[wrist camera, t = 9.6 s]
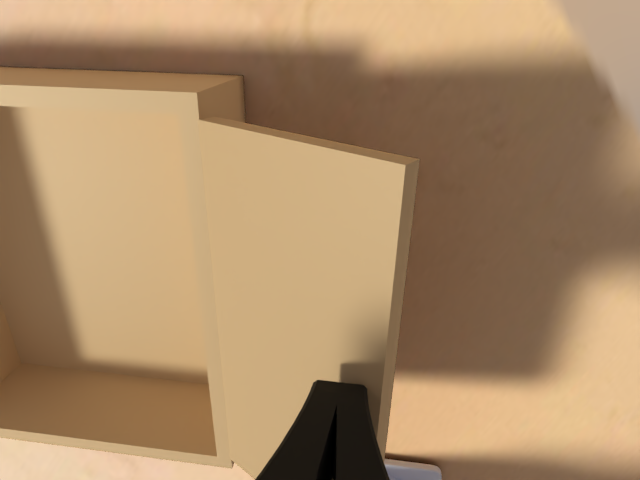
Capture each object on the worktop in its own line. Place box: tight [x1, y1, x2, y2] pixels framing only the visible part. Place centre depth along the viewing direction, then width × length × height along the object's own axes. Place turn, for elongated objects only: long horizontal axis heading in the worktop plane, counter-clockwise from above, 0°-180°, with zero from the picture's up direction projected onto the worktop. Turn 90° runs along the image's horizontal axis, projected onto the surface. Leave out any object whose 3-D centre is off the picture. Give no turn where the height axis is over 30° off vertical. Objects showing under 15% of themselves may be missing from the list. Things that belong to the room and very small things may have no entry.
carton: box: [0, 67, 246, 468], centre depth 18 cm, size 15×13×4 cm
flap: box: [198, 117, 420, 479], centre depth 14 cm, size 6×14×1 cm
